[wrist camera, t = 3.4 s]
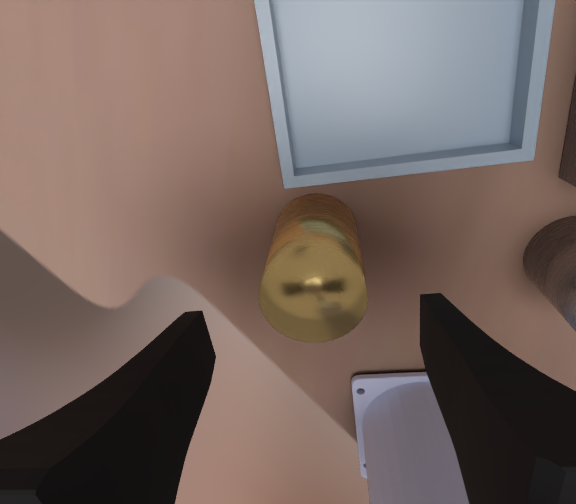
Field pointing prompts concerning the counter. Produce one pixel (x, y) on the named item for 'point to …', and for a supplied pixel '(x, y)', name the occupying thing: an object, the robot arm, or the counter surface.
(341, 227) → the part brass
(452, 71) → the tray
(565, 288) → the part grey
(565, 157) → the unit
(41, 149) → the counter surface
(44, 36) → the counter surface
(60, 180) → the counter surface
